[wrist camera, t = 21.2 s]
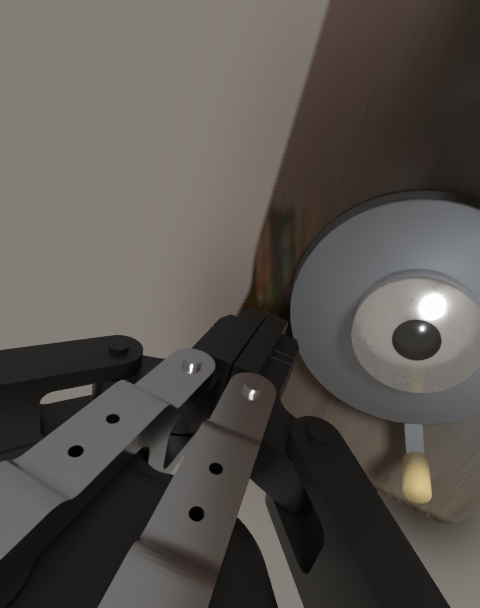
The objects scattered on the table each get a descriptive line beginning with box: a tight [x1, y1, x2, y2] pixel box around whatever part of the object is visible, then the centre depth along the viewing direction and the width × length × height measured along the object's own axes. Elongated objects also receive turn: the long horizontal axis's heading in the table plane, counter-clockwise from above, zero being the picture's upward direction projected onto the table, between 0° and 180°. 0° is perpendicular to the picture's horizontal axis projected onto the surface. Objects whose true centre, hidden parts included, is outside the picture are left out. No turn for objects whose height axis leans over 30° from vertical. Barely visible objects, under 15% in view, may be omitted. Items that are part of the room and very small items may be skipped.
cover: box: [351, 269, 480, 393], centre depth 33 cm, size 10×10×3 cm
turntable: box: [290, 198, 480, 503], centre depth 34 cm, size 26×21×6 cm
